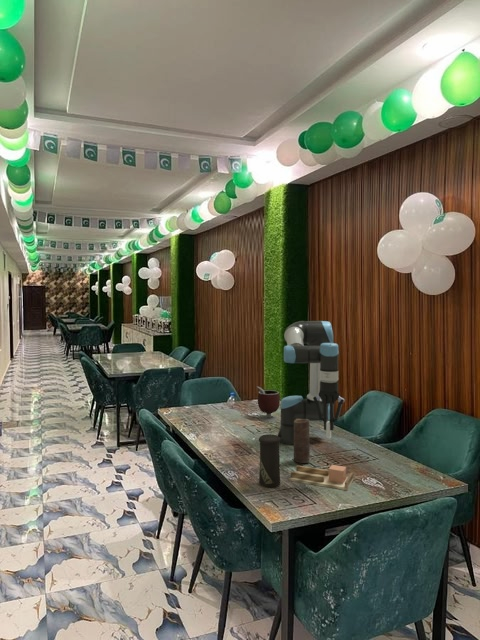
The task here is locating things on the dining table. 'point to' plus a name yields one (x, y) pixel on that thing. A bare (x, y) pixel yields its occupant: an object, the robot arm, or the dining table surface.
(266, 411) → the mate gourd
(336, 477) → the block
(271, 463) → the container
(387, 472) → the dining table surface
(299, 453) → the candle
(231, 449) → the dining table surface
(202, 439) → the dining table surface
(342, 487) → the chute
